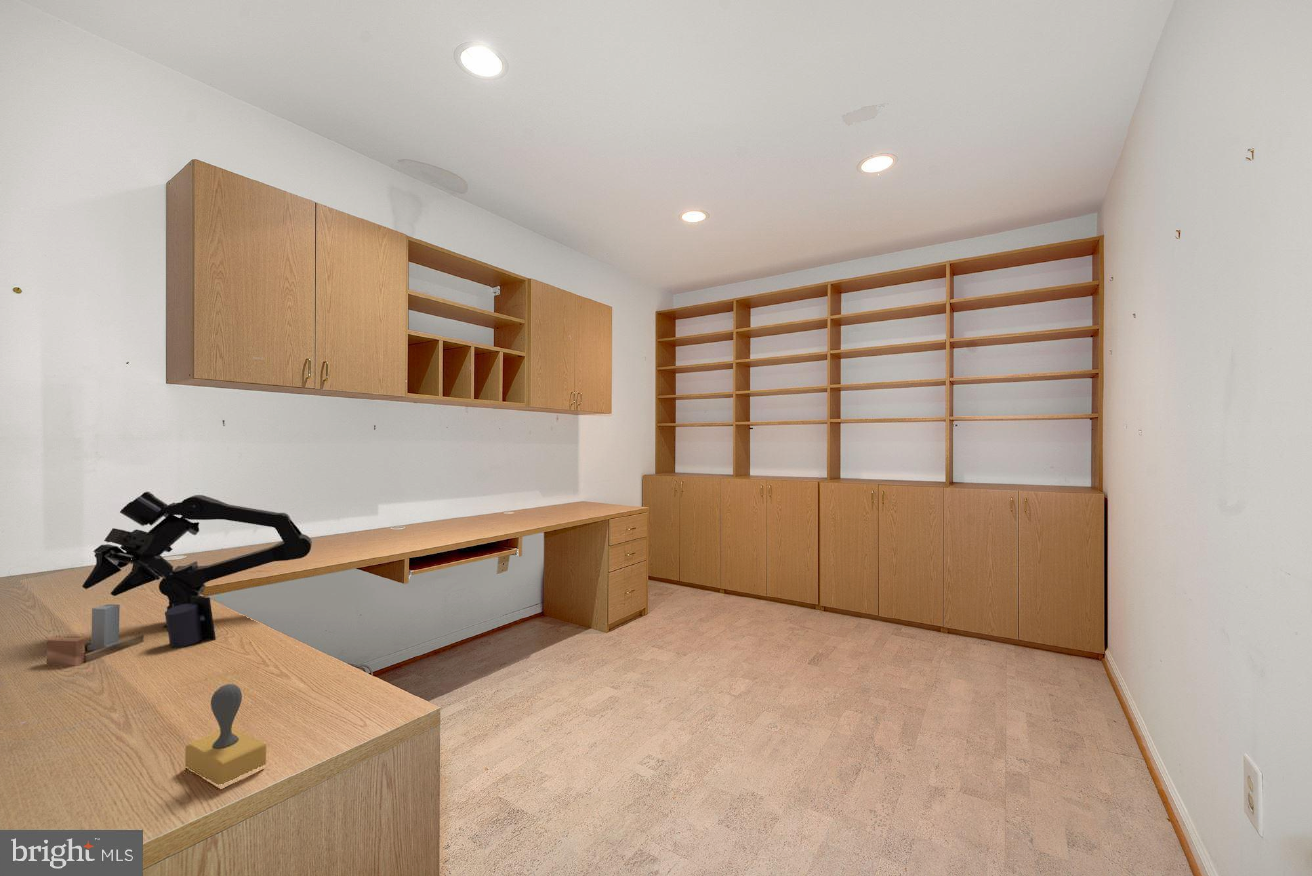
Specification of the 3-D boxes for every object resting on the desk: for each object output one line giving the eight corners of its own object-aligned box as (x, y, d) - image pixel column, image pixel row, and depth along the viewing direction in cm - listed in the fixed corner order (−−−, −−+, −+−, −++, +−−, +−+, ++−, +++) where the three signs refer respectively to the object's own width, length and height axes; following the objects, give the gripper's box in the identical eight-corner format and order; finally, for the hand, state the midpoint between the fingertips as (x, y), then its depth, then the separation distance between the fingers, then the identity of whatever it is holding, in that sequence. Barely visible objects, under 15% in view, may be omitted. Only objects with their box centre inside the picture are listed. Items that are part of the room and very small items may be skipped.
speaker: (207, 633, 127) (203, 591, 126) (216, 639, 124) (212, 596, 123) (165, 646, 121) (160, 602, 120) (173, 653, 118) (169, 608, 116)
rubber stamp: (183, 769, 75) (185, 685, 76) (231, 749, 81) (233, 670, 81) (219, 791, 71) (220, 701, 71) (267, 768, 76) (268, 684, 76)
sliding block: (102, 645, 119) (102, 604, 119) (122, 645, 119) (123, 604, 119) (86, 650, 116) (87, 608, 116) (108, 651, 116) (109, 608, 116)
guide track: (114, 640, 122) (114, 618, 122) (143, 641, 122) (143, 619, 122) (44, 664, 109) (45, 640, 109) (77, 665, 109) (77, 641, 109)
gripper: (110, 510, 128) (40, 563, 117) (166, 521, 123) (98, 577, 112) (143, 539, 135) (80, 591, 124) (197, 550, 131) (137, 606, 120)
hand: (98, 591), depth 120 cm, fingers open, 9 cm apart
